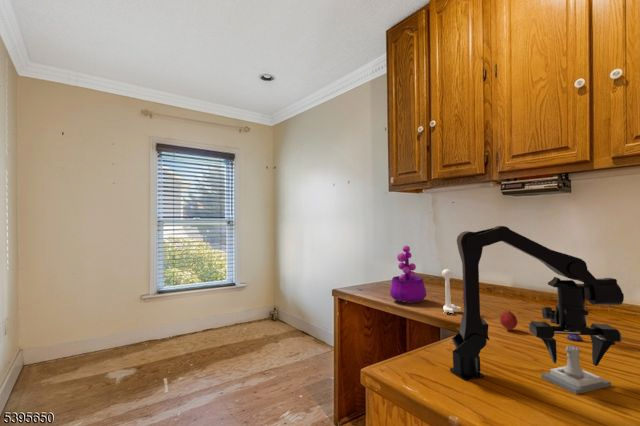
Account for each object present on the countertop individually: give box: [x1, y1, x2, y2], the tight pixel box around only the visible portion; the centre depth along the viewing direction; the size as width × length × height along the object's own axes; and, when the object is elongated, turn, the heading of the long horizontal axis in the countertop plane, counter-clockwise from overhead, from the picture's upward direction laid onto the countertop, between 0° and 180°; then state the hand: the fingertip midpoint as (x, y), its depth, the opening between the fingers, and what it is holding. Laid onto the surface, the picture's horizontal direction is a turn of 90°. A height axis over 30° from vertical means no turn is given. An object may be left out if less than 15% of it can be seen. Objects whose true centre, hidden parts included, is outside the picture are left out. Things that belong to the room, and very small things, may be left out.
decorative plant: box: [389, 244, 427, 303], centre depth 175 cm, size 19×18×30 cm
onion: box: [499, 309, 518, 331], centre depth 126 cm, size 6×6×8 cm
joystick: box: [441, 268, 462, 314], centre depth 153 cm, size 11×8×20 cm
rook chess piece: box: [564, 344, 585, 380], centre depth 85 cm, size 4×4×8 cm
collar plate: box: [541, 365, 612, 395], centre depth 85 cm, size 12×9×2 cm
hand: (574, 364), depth 85 cm, fingers open, 9 cm apart
